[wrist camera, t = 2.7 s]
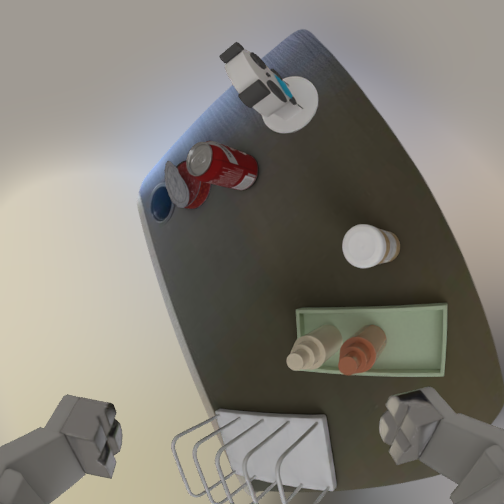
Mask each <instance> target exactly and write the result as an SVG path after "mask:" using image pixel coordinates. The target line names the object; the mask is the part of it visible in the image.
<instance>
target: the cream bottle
mask: <svg viewBox="0 0 504 504" xmlns="http://www.w3.org/2000/svg"><path fill="white" fill-rule="evenodd" d="M342 343H343V338H342V335H341V333H340V331H339V330H338V329H337V328H336V327H334V326H332V325H327V324H326V325H322V326H320V327H318V328H316V329H314V330H313V331H311V332H309V333H307V334H305V335H304V336H302V337H300V338H298V339H297V340H296V342H295V343H294V346H293V349H292V350H291V353H290V355H289V356H288V357H287V365H288V366H289V368H290V369H292V370H294V371H298V370H300V369H302V370H306V369H309V370H313V369H317V368H319V367H320V366H321V365H323V364H324V363H325V362H326V361H327V360H329V359H330V358H331V357H332V356H333V355H335V354H336V353H337V352H338V351H339V350H340V349H341V346H342Z"/></svg>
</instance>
